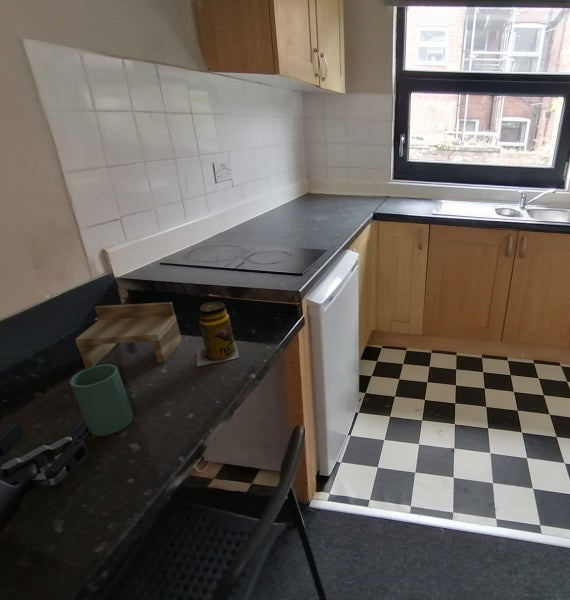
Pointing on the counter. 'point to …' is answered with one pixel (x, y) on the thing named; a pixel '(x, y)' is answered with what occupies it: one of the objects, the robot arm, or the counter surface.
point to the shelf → (130, 330)
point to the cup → (102, 399)
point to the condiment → (215, 335)
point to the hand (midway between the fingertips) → (51, 426)
